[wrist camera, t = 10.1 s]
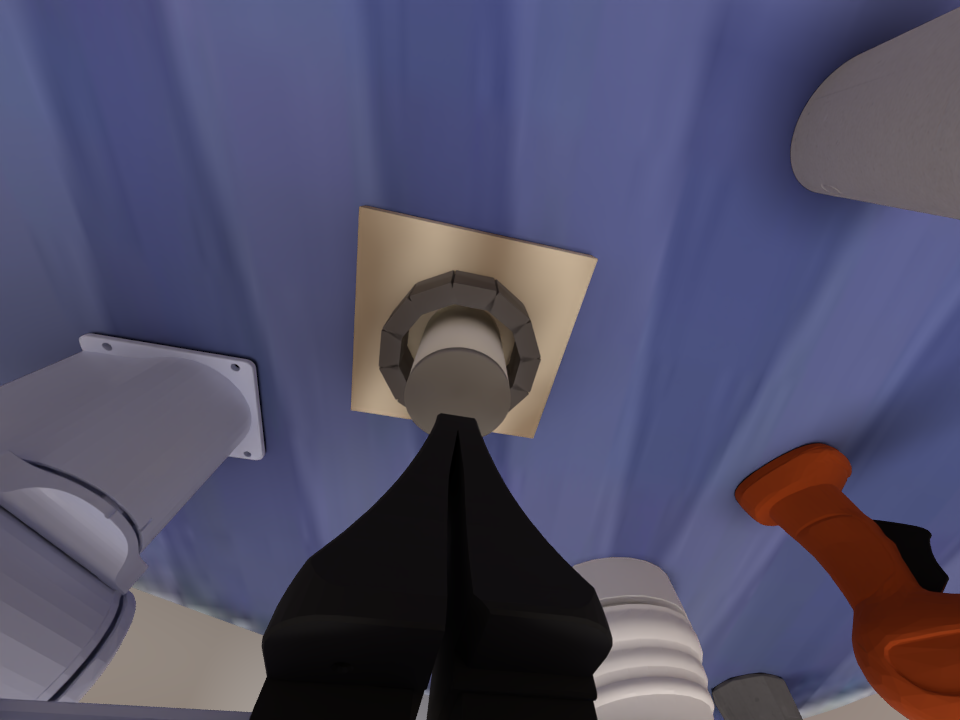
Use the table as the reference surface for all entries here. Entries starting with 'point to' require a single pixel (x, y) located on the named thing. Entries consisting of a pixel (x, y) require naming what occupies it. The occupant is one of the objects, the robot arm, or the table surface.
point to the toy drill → (870, 579)
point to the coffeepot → (755, 698)
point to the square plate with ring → (466, 282)
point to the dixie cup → (889, 124)
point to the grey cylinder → (459, 370)
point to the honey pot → (646, 646)
